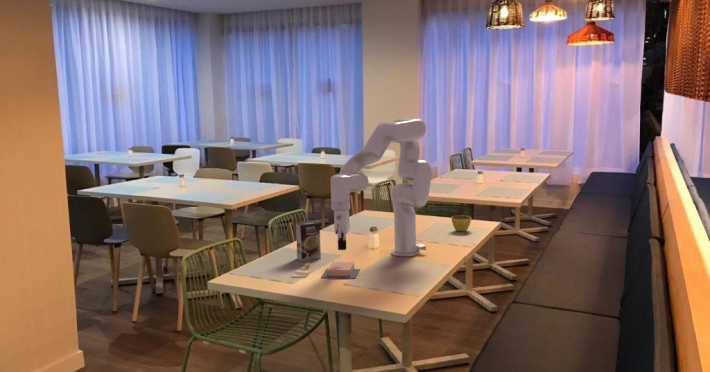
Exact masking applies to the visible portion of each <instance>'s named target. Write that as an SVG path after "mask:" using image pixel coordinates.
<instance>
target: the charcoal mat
mask: <svg viewBox="0 0 710 372" xmlns="http://www.w3.org/2000/svg"><path fill="white" fill-rule="evenodd" d="M328 269H329V268H326V269H325V270H324V271H323V273H322V274H321V277H320V279H349V280H350V279H354V280H355V279H357V277H358V275H359V273H360V271H361V268H354V270H353V272H352V274H351V276H328Z"/></svg>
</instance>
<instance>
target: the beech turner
mask: <svg viewBox="0 0 710 372" xmlns="http://www.w3.org/2000/svg"><path fill="white" fill-rule="evenodd" d="M310 266H311V263H310V262H305V264H304V265H303V266H302V268H301V269H296V270H295V271H294V272H293V274H292V275H291V278H297V279H298V278H301V279H303V278H304V279H305V278H306V279H307V277H308V276H309V274H310V273H311V270H308V269H309V268H310Z"/></svg>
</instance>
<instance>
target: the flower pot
mask: <svg viewBox="0 0 710 372" xmlns="http://www.w3.org/2000/svg"><path fill="white" fill-rule="evenodd" d="M451 222H452V226H453V228H454V230H455V231H456V230H457V231H466V230H467V231H468V229H469V228H470V225H471V223H472V217H471V216H469V215H464V214H463V215H461V214H460V215H453V216H451ZM457 231H456V232H457ZM467 231H466V232H467Z"/></svg>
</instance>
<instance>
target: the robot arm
mask: <svg viewBox="0 0 710 372" xmlns="http://www.w3.org/2000/svg"><path fill="white" fill-rule="evenodd" d="M426 132H427V125H426V123H425V122H424V121H423V120H422V119H420V118H397V119H394V120H393V121H386V122H380V123H379V124H378V125H377V126H376V127H375V129H374V130H373V132H372V133H371V136H370V137H369V138H368V139H367V142H366V143H365V144H364V146H363V148H361V150H359V151H358V152H357V153H355V154H354V155H353V156H352V157H350V158H349V159H348V160H347V161H346V162H345V163H344V165H343V166H342V168H341V170H340V171H339V174H336V175H335V174H334V175H332V176H331V177H330V195H331V196H330V197H331V200H330V202H331V205H330V206H331V210H332V211H333V214H334V215H333V218H334V219H333V223H334V224H333V225H334V227H333V228H334V234H335V235H337V250H338V251H346V249H347V234H349V231H350V229H351V226H350V210H351V197H350V196H351V195H350V194H351V192H357V193H358V192H362V191H365V190H366V189H367V188H368V186H369V178H368V176H366V175H365V174H364V173H361V172H360V171H361V170H362V169H363V168H365V167H367V166H369V165H372V164H375V163H376V162H379V161H381V159H382V157H383V156H384V154H385V153H386V151H387V149H388V147H390V144H391V143H395V144H399V146H400V151H399V158H398V166H397V167H398V168H397V175H398V177H399V178H400V179H401V180H403V181H408V182H413V183H406V182H405V183H404V182H402V183H401V182H399V183H397V184H395V185H394V186H393V188H392V189H391V201H392V206H393V218H394V219H393V221H394V222H393V223H394V226H393V227H394V231H393V232H394V248H393V249H391V252H390V253H391V255H393V256H397V257H405V258H407V257H414V256H415V257H416V256H418V255H420V254H421V253H420V252H421V251H420V250H422V251H426V250H427V245H424V244H418V241H417V232H416V231H417V228H416V227H417V226H416V225H417V224H416V222H417V220H416V218H417V216H416V215H417V214H416V211H415V208H422V207H424V206H426V205H427V202H428V200H429V197H430V189H431V182H432V177H433V176H432V174H433V172H432V167H431V165H430V163H429V162H428V161H426V160H423V159H420V149H421V147H420V144H419V141H418V140H419V139H421V138H423V137H424V136H425V134H426Z"/></svg>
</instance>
